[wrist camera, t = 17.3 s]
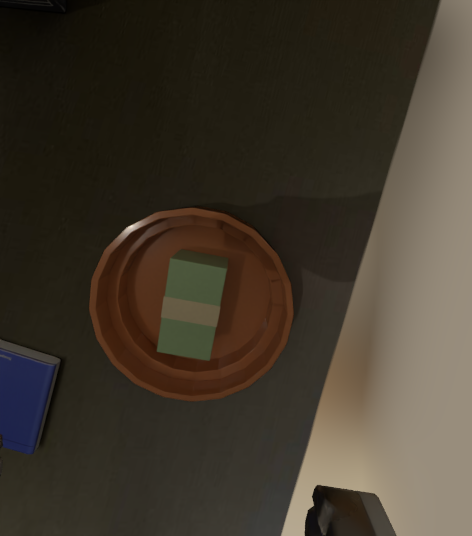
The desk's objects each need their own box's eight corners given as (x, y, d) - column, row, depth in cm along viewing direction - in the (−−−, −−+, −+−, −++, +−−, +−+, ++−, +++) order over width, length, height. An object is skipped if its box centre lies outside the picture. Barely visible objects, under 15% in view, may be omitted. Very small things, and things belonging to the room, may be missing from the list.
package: (229, 257, 31) (227, 269, 26) (214, 337, 33) (210, 361, 28) (179, 248, 31) (169, 258, 26) (167, 329, 33) (155, 352, 28)
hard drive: (-22, 342, 32) (-39, 435, 35) (54, 366, 33) (31, 456, 35) (-10, 335, 34) (-28, 425, 36) (62, 358, 34) (40, 445, 37)
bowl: (301, 225, 31) (314, 231, 26) (264, 381, 35) (269, 414, 30) (123, 191, 30) (99, 189, 25) (106, 354, 34) (82, 383, 29)
